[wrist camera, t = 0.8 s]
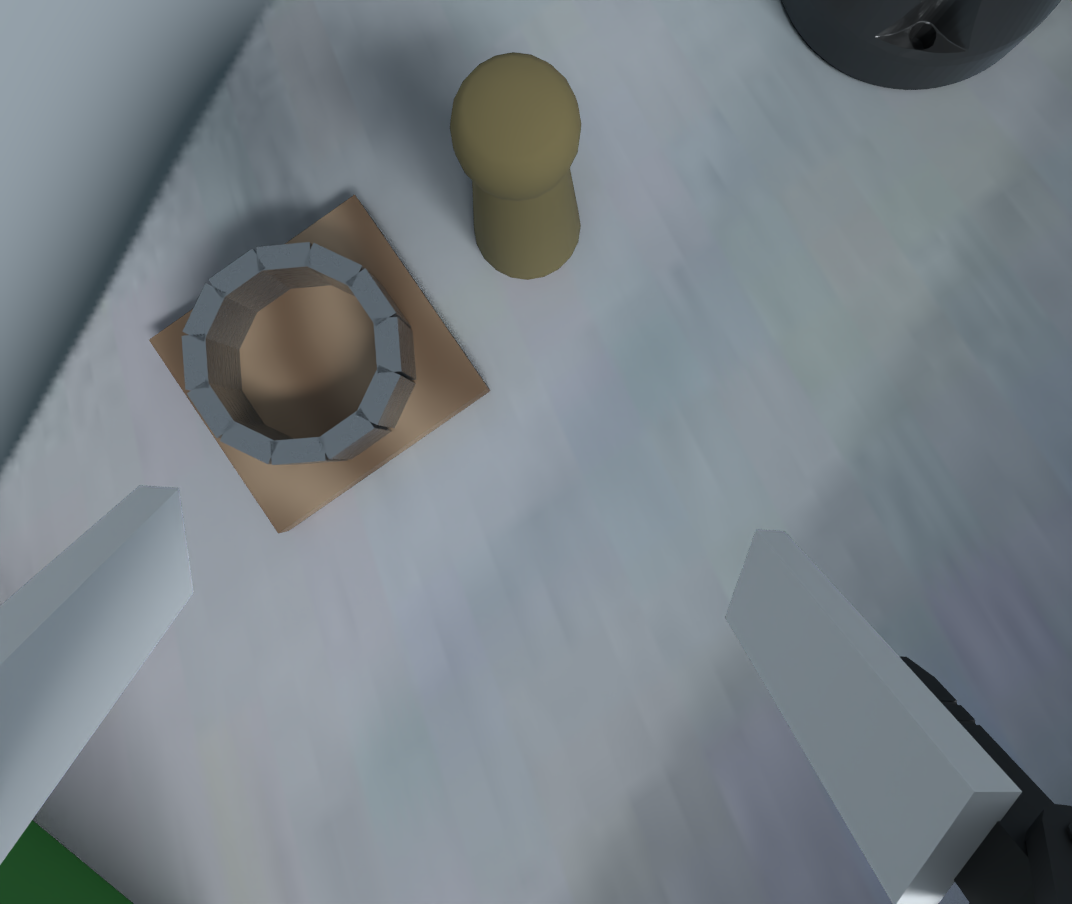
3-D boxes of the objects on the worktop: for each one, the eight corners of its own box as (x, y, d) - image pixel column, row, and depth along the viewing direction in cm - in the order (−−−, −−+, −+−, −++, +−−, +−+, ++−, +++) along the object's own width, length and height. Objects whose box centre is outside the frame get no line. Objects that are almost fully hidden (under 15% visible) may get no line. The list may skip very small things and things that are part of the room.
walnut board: (362, 204, 32) (354, 194, 31) (490, 390, 31) (487, 387, 30) (164, 344, 32) (149, 339, 31) (288, 530, 32) (278, 533, 31)
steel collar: (342, 226, 31) (319, 201, 28) (453, 388, 30) (442, 380, 27) (181, 339, 31) (141, 326, 28) (290, 501, 31) (262, 506, 28)
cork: (460, 193, 32) (409, 53, 21) (560, 158, 32) (564, -3, 21) (493, 293, 32) (460, 205, 21) (594, 259, 31) (616, 151, 20)
